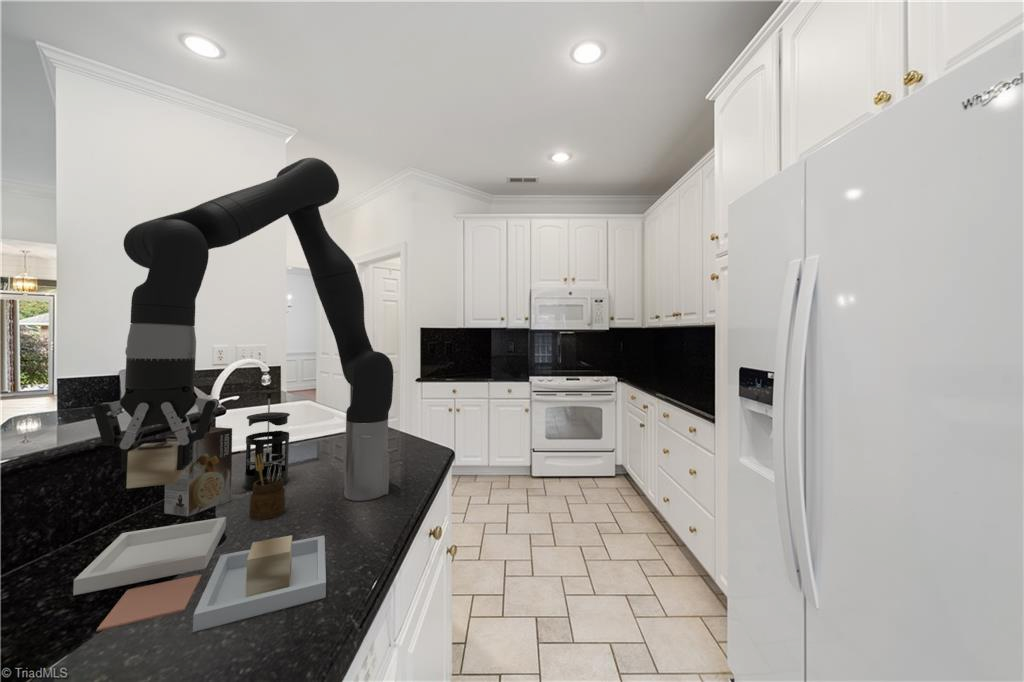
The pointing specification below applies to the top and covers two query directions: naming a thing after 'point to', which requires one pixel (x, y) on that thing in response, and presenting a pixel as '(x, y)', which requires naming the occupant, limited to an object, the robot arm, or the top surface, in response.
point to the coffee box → (203, 475)
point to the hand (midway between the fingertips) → (157, 470)
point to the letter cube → (153, 465)
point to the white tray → (152, 555)
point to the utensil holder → (267, 495)
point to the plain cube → (269, 565)
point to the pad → (151, 602)
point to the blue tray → (231, 604)
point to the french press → (276, 442)
